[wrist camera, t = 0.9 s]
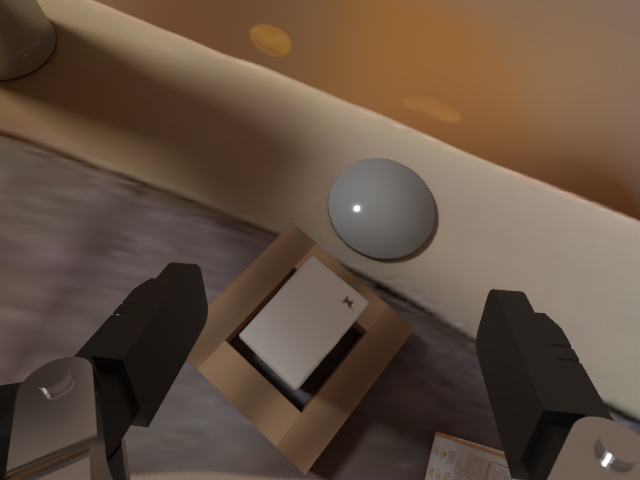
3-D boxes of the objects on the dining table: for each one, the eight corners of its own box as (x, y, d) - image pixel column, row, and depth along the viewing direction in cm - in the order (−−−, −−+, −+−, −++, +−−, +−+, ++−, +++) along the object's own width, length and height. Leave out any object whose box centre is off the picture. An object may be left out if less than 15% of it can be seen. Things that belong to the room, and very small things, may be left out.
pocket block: (179, 346, 30) (171, 343, 28) (291, 232, 34) (292, 222, 32) (302, 467, 28) (304, 474, 26) (405, 331, 32) (415, 328, 30)
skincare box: (301, 293, 33) (314, 250, 21) (339, 327, 32) (373, 302, 21) (250, 349, 31) (235, 335, 19) (290, 387, 30) (298, 394, 19)
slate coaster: (305, 210, 35) (306, 207, 35) (372, 143, 38) (373, 139, 38) (390, 282, 34) (392, 281, 33) (452, 206, 37) (455, 204, 36)
